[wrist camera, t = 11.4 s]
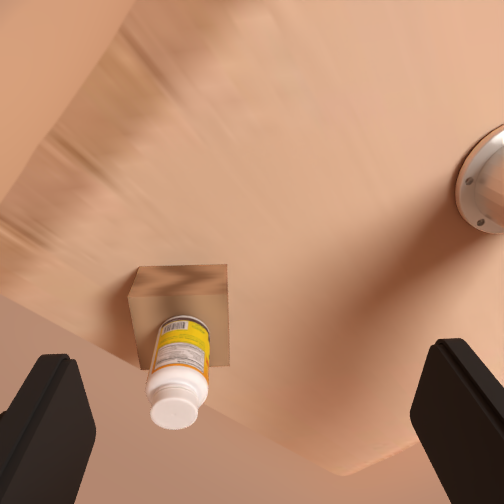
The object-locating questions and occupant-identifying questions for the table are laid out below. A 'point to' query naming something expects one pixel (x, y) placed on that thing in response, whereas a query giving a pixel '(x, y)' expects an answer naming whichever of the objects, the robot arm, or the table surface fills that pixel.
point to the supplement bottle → (179, 372)
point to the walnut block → (180, 305)
